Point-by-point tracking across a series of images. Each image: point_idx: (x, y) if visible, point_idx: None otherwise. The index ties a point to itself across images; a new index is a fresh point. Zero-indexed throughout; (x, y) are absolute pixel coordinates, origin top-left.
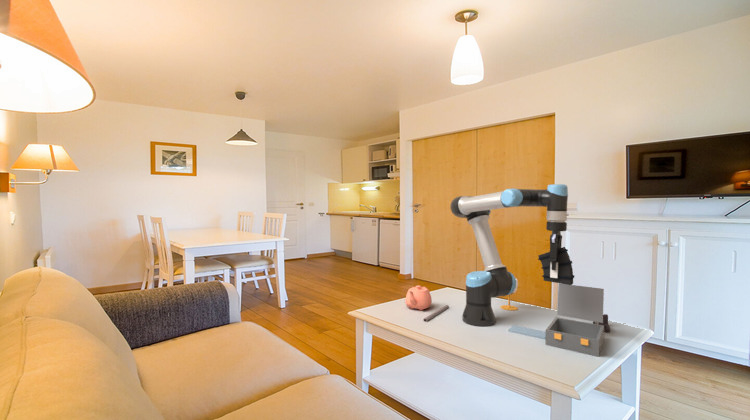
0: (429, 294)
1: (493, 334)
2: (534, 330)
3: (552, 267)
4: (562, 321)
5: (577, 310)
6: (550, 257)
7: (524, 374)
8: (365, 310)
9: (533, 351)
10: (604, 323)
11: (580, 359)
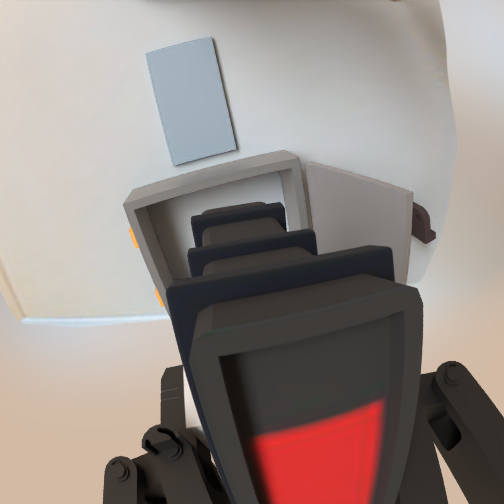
0: None
1: (83, 51)
2: (213, 109)
3: (164, 396)
4: (291, 180)
5: (329, 237)
6: (108, 500)
7: None
8: None
9: (66, 197)
10: (412, 228)
11: (124, 284)
